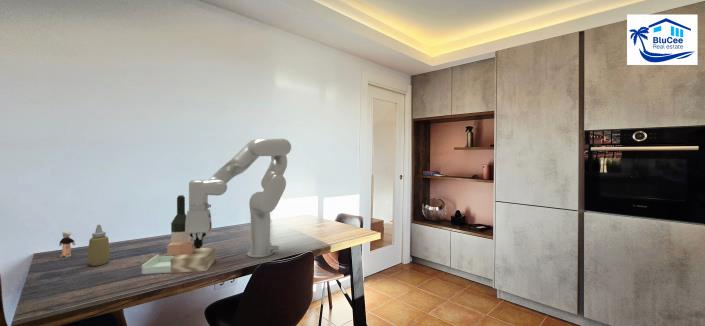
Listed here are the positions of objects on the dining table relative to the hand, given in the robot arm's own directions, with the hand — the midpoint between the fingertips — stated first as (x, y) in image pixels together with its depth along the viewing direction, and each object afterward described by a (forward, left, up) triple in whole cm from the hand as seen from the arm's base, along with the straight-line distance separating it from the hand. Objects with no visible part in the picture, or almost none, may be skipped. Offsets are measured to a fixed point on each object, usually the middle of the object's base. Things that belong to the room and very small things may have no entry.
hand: (198, 247), depth 131 cm
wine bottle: (+14, -18, -8) cm, 24 cm away
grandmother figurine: (+69, -26, -8) cm, 74 cm away
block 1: (+9, 0, -2) cm, 10 cm away
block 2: (+4, 0, -2) cm, 5 cm away
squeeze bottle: (+46, -11, -8) cm, 48 cm away
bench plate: (+2, 0, -8) cm, 8 cm away
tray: (+14, 0, -8) cm, 16 cm away
